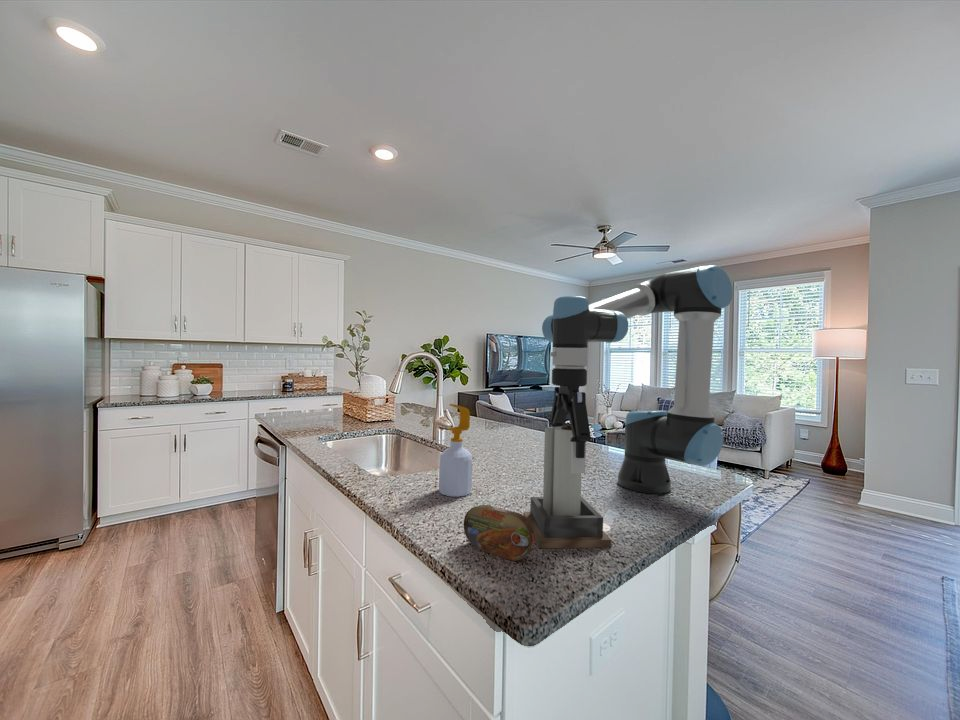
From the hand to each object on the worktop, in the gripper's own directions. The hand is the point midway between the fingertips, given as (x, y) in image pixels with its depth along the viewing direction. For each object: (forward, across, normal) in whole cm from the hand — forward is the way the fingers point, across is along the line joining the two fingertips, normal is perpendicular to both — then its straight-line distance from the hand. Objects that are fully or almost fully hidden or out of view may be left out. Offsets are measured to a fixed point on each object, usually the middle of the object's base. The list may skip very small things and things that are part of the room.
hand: (567, 463), depth 88 cm
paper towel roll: (+14, 0, 0) cm, 14 cm away
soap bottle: (+15, -26, -24) cm, 38 cm away
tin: (+15, +9, -16) cm, 24 cm away
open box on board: (+15, 0, -1) cm, 15 cm away
